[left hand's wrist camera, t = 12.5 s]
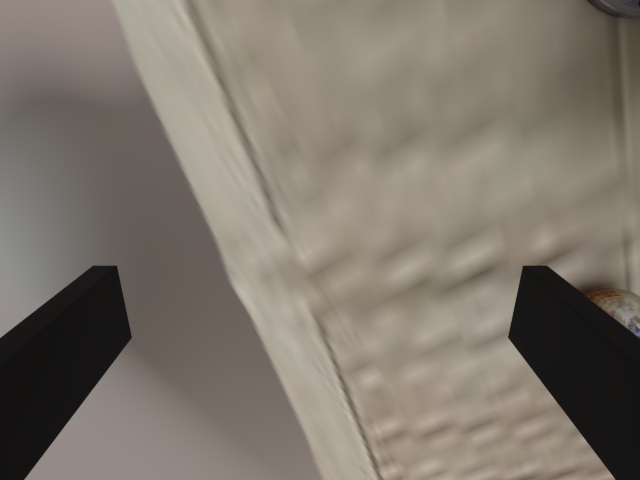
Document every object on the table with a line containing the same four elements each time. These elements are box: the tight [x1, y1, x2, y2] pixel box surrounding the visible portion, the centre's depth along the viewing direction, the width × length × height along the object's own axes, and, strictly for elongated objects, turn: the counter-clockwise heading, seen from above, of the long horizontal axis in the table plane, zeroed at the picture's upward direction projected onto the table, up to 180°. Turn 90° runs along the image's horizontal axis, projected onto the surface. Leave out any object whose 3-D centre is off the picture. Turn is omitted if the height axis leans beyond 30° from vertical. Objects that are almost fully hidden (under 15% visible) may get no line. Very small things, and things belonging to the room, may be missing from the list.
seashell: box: [584, 289, 640, 338], centre depth 47 cm, size 10×6×8 cm, turn 115°
